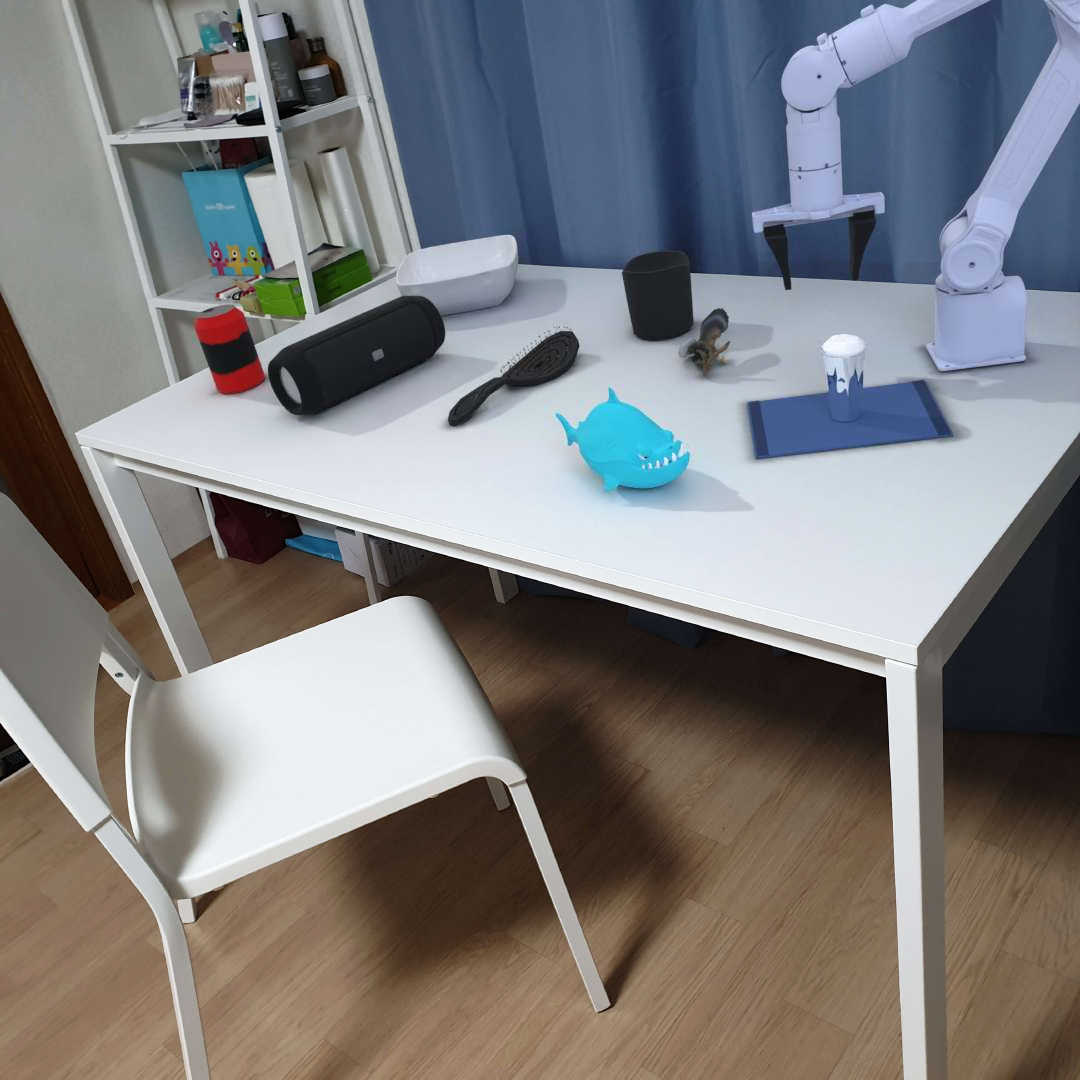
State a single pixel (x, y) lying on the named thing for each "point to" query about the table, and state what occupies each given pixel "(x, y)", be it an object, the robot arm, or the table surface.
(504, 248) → the bowl
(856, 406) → the milkshake
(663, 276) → the pen holder
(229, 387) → the soda can
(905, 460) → the table surface
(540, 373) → the hairbrush
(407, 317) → the portable speaker
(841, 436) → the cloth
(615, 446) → the toy shark
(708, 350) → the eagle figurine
